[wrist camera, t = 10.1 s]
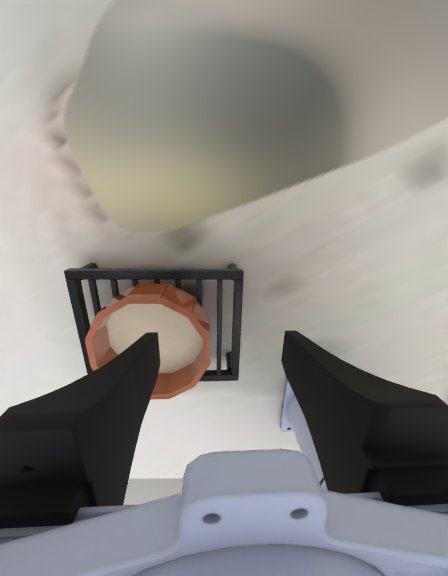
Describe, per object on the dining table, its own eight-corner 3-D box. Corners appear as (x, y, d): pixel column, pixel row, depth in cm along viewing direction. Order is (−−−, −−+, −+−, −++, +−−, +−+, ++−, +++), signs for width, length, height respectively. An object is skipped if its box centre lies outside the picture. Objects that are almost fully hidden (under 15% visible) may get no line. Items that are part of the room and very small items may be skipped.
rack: (239, 262, 22) (243, 271, 19) (235, 359, 25) (238, 380, 22) (84, 261, 21) (63, 271, 18) (104, 362, 25) (89, 384, 22)
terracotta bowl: (209, 283, 19) (209, 297, 16) (210, 372, 22) (209, 397, 19) (95, 283, 18) (74, 297, 15) (112, 375, 21) (97, 401, 18)
